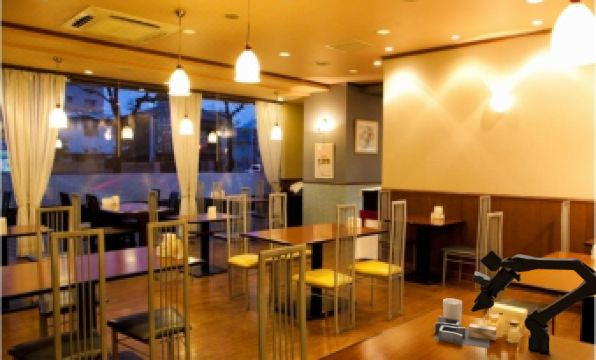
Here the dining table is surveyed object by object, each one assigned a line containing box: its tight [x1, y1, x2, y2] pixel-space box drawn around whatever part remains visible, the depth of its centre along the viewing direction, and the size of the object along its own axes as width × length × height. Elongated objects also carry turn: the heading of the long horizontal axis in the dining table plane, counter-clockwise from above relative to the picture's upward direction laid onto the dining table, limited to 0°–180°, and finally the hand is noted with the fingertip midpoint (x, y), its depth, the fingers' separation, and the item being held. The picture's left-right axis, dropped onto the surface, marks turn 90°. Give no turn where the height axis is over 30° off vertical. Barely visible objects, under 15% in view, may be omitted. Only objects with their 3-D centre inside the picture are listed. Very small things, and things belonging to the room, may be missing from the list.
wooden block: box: [468, 323, 498, 341], centre depth 182 cm, size 10×4×4 cm, turn 64°
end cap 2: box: [438, 325, 466, 347], centre depth 180 cm, size 9×10×4 cm
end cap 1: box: [434, 315, 461, 334], centre depth 189 cm, size 9×10×4 cm
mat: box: [433, 328, 491, 349], centre depth 183 cm, size 20×17×1 cm
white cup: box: [442, 298, 463, 325], centre depth 198 cm, size 8×8×10 cm
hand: (473, 306), depth 182 cm, fingers open, 9 cm apart
